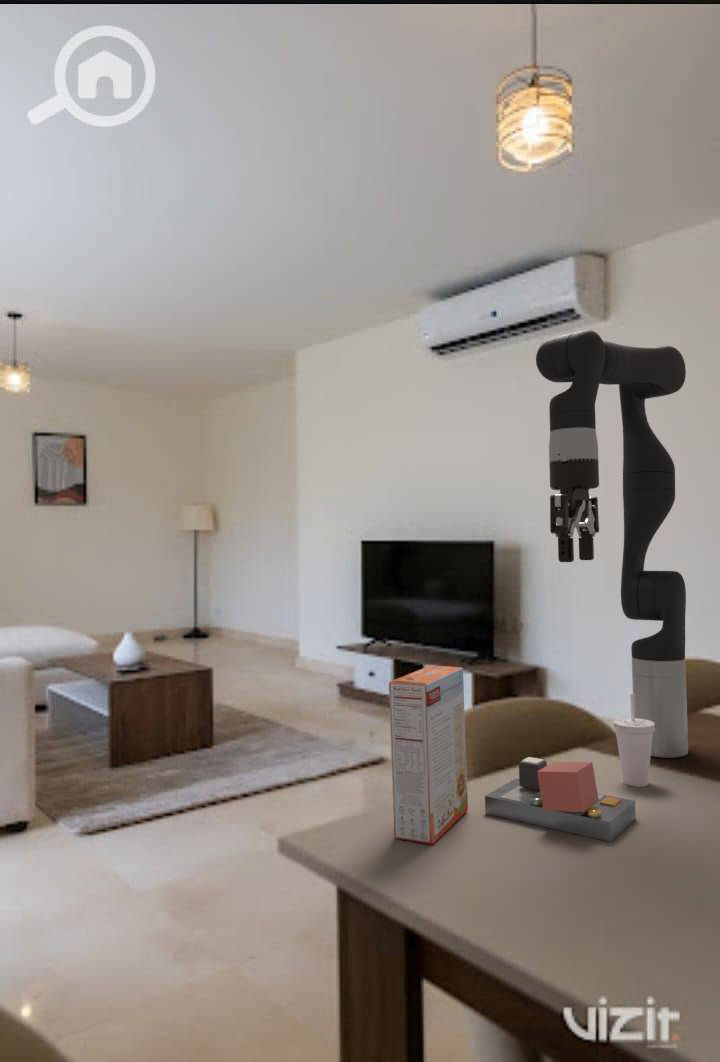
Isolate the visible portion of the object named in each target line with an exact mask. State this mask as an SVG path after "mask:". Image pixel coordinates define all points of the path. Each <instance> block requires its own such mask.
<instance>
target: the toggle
mask: <svg viewBox="0 0 720 1062" xmlns="http://www.w3.org/2000/svg"><path fill="white" fill-rule="evenodd" d="M547 764H548V763H547V760H546V759H545V760H544V759H543V758H538V757H532V756H528V757H526V758H523V759H522V760H521V761H519V762H518V774H519V775H518V777H519V778H518V779H519V786H522V787H527V788H532V789H537V790H539V789H540V786H539V780H538V774H537V771H539V770H541V769H542V768H544V767H546V766H548V765H547Z"/></svg>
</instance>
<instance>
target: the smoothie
mask: <svg viewBox="0 0 720 1062" xmlns="http://www.w3.org/2000/svg"><path fill="white" fill-rule="evenodd" d="M629 695H630V717H625V718H624V717H623V718H621V717H620V718H616V719H614V720H613V721H612V722H613V724H612V728H613V729H614V730H615V735H616V736H615V737H616V742H617V748H618V755H619V762H620V768H621V769H620V770H621V775H622V783H623V784H624V785H627V786H631V787H638V788H639V787H646V786H648V785H649V779H650V778H649V775H650V767H651V766H650V765H651V758H652V756H651V749H652V739H653V731H655V723H654V722H652V721H649V720H645V719H638V718H635V710H634V694H633V693H630V694H629Z"/></svg>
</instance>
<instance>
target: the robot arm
mask: <svg viewBox="0 0 720 1062" xmlns="http://www.w3.org/2000/svg"><path fill="white" fill-rule="evenodd" d="M535 355H536V356H535V362H536V363H535V364H536V367H537V369H538V372H539V373H540V375H541V376H542V377H543V378H544V379H546V380H547V381H550V382H553V383H571V384H570V386H569V388H568V389H566V390H564V391H562V392H561V393H558V394H556V395H554V396H553V397H552V398H551V399H550V401H549V410H548V411H549V440H548V442H549V443H548V457H549V458H548V459H549V460H548V462H549V487H550V489H551V490H553V491H559V493H556V494H551V495H550V496H549V517H550V518H549V521H550V522H549V523H550V525H549V527H550V529H549V530H550V534H554V536H555V538H557V548H558V551H557V552H558V553H557V555H558V562H560V563H572V562H574V560H575V554H574V552H575V551H574V549H575V547H574V537H573V536H574V533H575V529H576V532H577V535H578V558H579V560H581V561H592V560H594V558H595V552H594V551H595V547H594V546H595V544H594V543H595V542H594V537H596V534H597V533H599V532H600V522H599V505H598V503H599V502H598V501H599V500H598V497H597V496H590V492H589V491H590V490H591V489H592V490H594V489H597V488H598V487H599V486H600V468H599V465H600V464H599V444H598V443H599V442H598V437H597V430H596V427H597V426H596V402H597V401H596V400H597V395H598V391H599V388H600V385H608V386H609V385H618V391H619V392H618V393H619V401H620V410H621V411H620V413H621V421H622V422H621V423H622V441H623V442H622V445H623V447H622V453H623V454H622V456H623V457H622V458H623V459H622V461H623V462H622V499H623V500H622V502H623V503H622V504H623V505H622V506H623V549H622V550H623V551H622V564H621V578H620V580H621V582H620V603H621V609H622V612H623V614H624V616H625V617H626V618H628V619H629V620H635V621H655V622H656V621H661V622H662V626H661V629H660V630H659V631H658V632H656V633H654V634H652V635H650V636H646V637H643V638H639V639H637V640H634V641H633V642H632V644H631V653H630V654H631V673H632V694H634V710H635V718H638V719H645V720H649V721H652V722H654V723H655V731H653V739H652V749H651V757H654V758H655V757H657V758H669V759H671V758H681V757H685V756H687V755H688V754H689V741H688V737H689V735H688V730H689V729H688V704H687V702H688V701H687V697H688V696H687V672H686V671H687V669H686V668H687V667H686V606H687V603H686V602H687V591H686V589H687V588H686V584H685V583H686V582H685V579H684V577H683V575H682V574H681V572H679V571H677V570H644V569H645V561H646V555H647V552H648V549H649V546H650V544H651V542H652V541H653V538H654V537H655V534H656V533H657V532H658V530H659V529H660V527H661V525H662V524H663V522H665V520H666V518H667V517H668V515H669V514H670V512H671V510H672V508H673V505H674V504H675V500H676V467H675V464H674V460H673V459H672V457H671V455H670V453H669V452H668V450H667V449H666V448H665V446H664V445H663V444H662V442H661V441H660V439H659V438H658V437H657V435H656V434H655V433H654V431H653V430H652V427H651V426H650V423H649V421H648V417H647V413H646V406H645V405H646V404H645V401H646V400H647V399H653V398H660V397H666V396H669V395H672V394H674V393H676V392H677V393H678V392H679V391H680V390H681V388H682V387H683V386H684V383H685V381H686V374H687V373H686V372H687V371H686V363H685V360H684V357H683V355H682V353H681V352H680V350H678V349H677V348H676V347H674V346H670V345H662V346H661V345H660V346H659V345H658V346H655V347H638V346H629V345H624V344H618V343H615V342H611V341H606V340H603V339H602V337H601V336H600V335H599V333H598V332H596V331H594V330H591V329H584V330H579V331H576V332H571V333H567V334H563V335H562V334H561V335H558V336H555V337H551V338H549V339H547V340H545V341H544V342H542V344H541V345H540V346H539V347H538V349H537V351H536V354H535Z"/></svg>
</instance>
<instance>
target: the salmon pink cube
mask: <svg viewBox="0 0 720 1062" xmlns="http://www.w3.org/2000/svg"><path fill="white" fill-rule="evenodd" d="M537 774H538V780H539V786H540V793H541V799H542V805H543V810H550V811H568V812H584V811H585V810H587V809H588V808H589V807H591V806H592V805H593V804H595V803H596V802H597V801H599V800H598V794H599V793H598V788H597V783H596V776H595V770H594V766H593V762H592V761H590V762H589V761H585V762H584V761H553V762H552V763H549V764H548V765H547V766H546V767H544V768H542V769H541V770H539V771H537Z"/></svg>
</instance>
